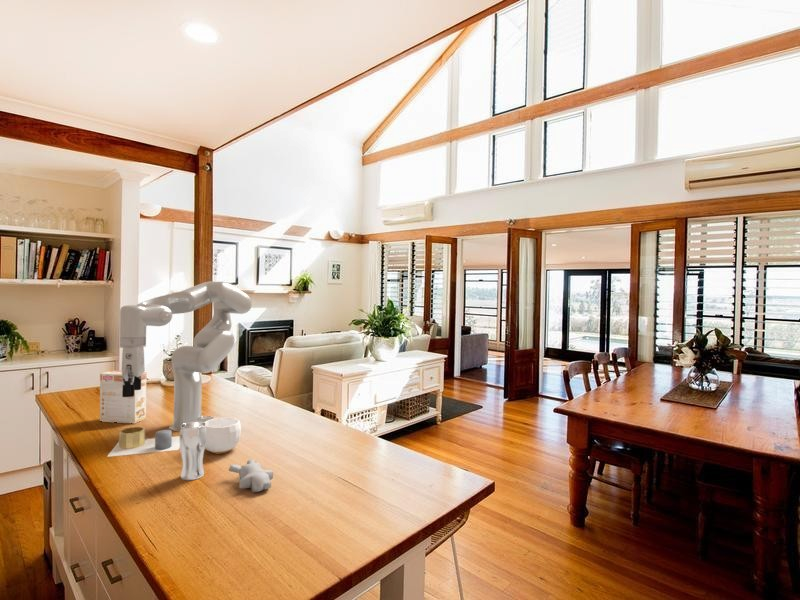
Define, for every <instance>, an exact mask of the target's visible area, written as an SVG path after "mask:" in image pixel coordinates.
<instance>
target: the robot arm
mask: <svg viewBox="0 0 800 600" xmlns="http://www.w3.org/2000/svg"><path fill="white" fill-rule="evenodd" d="M252 302H253V301H252V299H251V297H250V296H249V295H248V294H247V293H245V292H244V291H242V290H241V289H239V288H238V287H236V286H234V285H233V284H230V283H229V282H226V281H205V282H202V283H199V284H196V285H194V286H191V287H189V288H186V289H183V290H181V291H177V292H172V293H170V294H165V295H161V296H157V297H153V298H150V299H147V300H144V301H142V302H140V303H137V304H136V305H135V304H134V305H133V304H132V305H131V304H130V305H129V304H128V305H123V306H122V307H120V310H119V348H120V349H121V348H122V354H121V371H122V377H123V378H124V379H123V391H122V396H123V397H133V396H134V390H140V389H141V375H142V374H143V373H144V372H146V371H145V368H146V367H145V350H144V349H145V347H147V327H148V326H150V327H163V326H166V325H168V324H169V323H170V322H171V321H172V319H173V315H177V314H178V315H179V314H186V313H187V314H188V313H190V312H191V313H192V312H194V311H196V310H197V309H200V308H202V307H205V306H207V305H209V304H211V303H212V305H213V306H212V307H213V316H212V317H211V319H210V320H209V322H208V323H207V324H206V325H204V327H202V329H200V331H198V333H196V335H195V337H194V338H193V341H192V343H193V346H192V345H183V346H179V347H178V348H176V349H175V350H174V352H172V356H171V367H172V371H173V384H174V385H173V423H171V424H170V425H169V426H168V430H171V431H176V432H180V428H181V425H182V424H184V423H187V422H193V421H201V422H206V421H208V420H211V419H214V418H215V417H214V416H211V415H209V416H205V415H203V412H202V392H203V391H202V387H203V385H202V384H203V383H202V376H201V374H208V373H211V372H212V371H214V370H215V369H217V367H218V366H219V365H220V364H221V363H222V362H223V361H224V359H225V358H226V357H227V356H228V355H229V354H230V352H231V351H232V350H233V347H234V346H235V345H234V344H235V335H234V334H233V333H232V331H231V329H232V319H231V314H240V315H243V314H246V313H248V312H249V311H250V310H251V309H252V306H253V305H252V304H253V303H252Z"/></svg>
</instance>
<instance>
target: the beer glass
mask: <svg viewBox="0 0 800 600" xmlns="http://www.w3.org/2000/svg"><path fill="white" fill-rule="evenodd" d="M179 436H180V440H179V441H180V447H179V451H180V457H181V462H182V463H181V464H182V467H181V468H182V469H181V473H180V479H181V480H183V481H194V480H198V479H200V478H202V477H203V476H204V475H205V469H204V464H203V463H204V455H205V451H206V448H205V445H206V423H205V422H201V421H193V422H187V423H184V424H182V425H181V428H180V431H179Z"/></svg>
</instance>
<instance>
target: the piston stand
mask: <svg viewBox="0 0 800 600" xmlns="http://www.w3.org/2000/svg"><path fill="white" fill-rule="evenodd" d="M172 433H173V430H170V429H162V430H161V429H160V430H158V431H155V433H154V434H155V435H154V437H153V438H145V444H144V445H142V446H140V447H137V448H133V449H121V448H120V447H119V441H118V442H117V443H116V445H115V446H114V447H113V448H112V450H111V451H110V452H109V453H108V455H107V456H106V457H107V458H110V457H119V456H131V455H139V454H140V455H141V454H149V453H158V452H159V453H161V452H171V451H180V441H179V440H180V435H177V436H172Z"/></svg>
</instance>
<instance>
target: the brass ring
mask: <svg viewBox="0 0 800 600" xmlns="http://www.w3.org/2000/svg"><path fill="white" fill-rule="evenodd" d="M145 439H146V428H145V427H143V426H130V427H125V428H123V429H120V430H119V432H118V442H119V447H120V448H121V449H133V448H137V447H140V446H142V445H144V444H145Z"/></svg>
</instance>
